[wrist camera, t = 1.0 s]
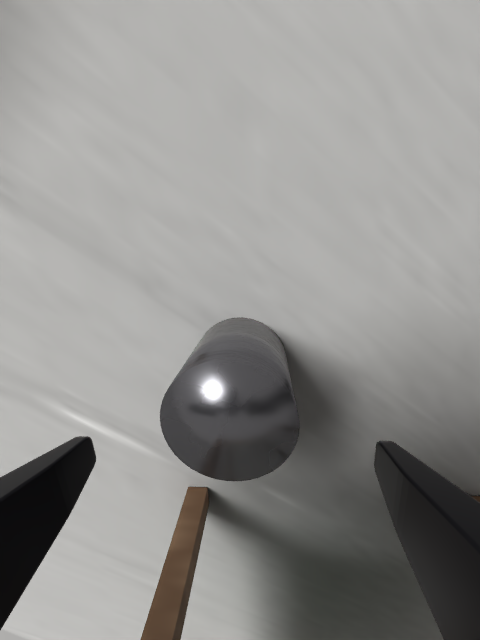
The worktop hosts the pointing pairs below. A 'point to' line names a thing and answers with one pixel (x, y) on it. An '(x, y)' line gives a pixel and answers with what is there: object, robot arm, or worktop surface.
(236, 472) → the cylinder
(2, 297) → the worktop surface
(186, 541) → the stand
